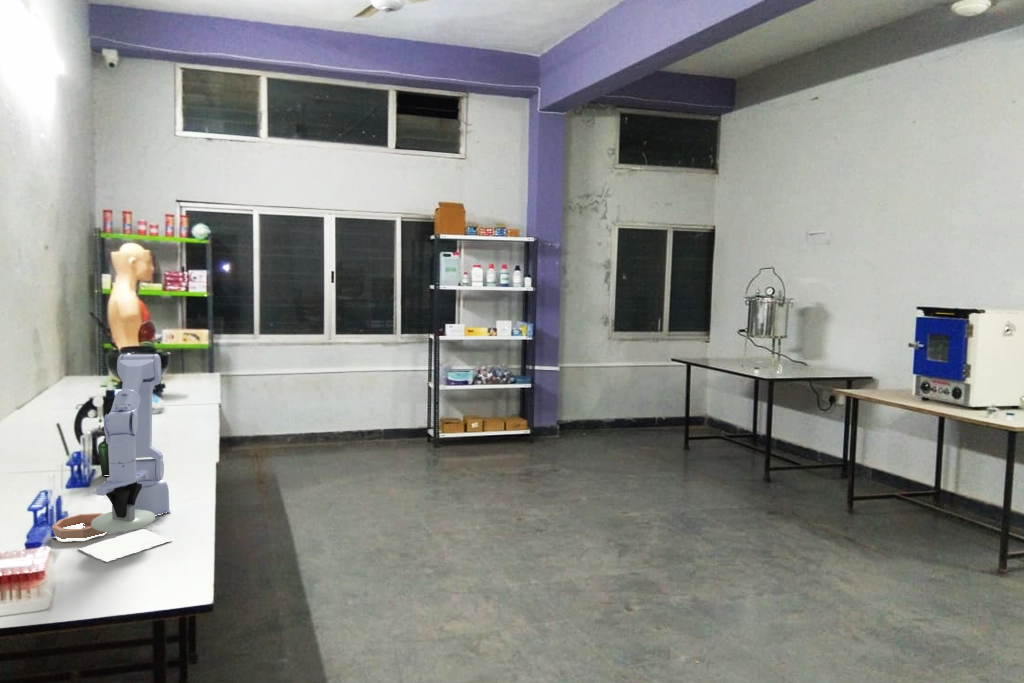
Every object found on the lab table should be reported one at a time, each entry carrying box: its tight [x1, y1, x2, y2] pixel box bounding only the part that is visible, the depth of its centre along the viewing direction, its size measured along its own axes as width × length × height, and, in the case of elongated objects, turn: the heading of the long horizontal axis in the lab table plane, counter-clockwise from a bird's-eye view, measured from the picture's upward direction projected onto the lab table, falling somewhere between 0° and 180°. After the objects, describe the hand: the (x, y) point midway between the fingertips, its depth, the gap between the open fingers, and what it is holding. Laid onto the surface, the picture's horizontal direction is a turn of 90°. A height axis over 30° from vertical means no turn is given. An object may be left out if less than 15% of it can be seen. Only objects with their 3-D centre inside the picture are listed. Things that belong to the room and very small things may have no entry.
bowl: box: [51, 512, 105, 539], centre depth 180 cm, size 12×12×3 cm
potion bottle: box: [97, 425, 109, 476], centre depth 229 cm, size 8×8×18 cm
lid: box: [91, 504, 156, 533], centre depth 172 cm, size 14×14×4 cm
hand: (124, 515), depth 172 cm, fingers closed on lid, 2 cm apart
